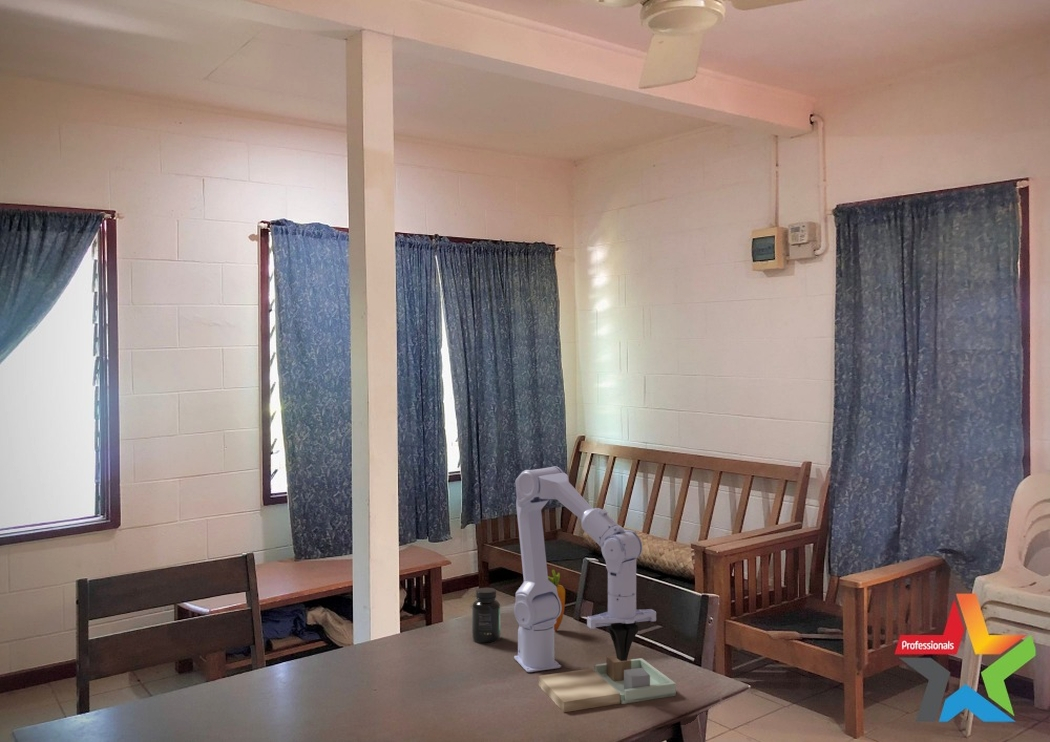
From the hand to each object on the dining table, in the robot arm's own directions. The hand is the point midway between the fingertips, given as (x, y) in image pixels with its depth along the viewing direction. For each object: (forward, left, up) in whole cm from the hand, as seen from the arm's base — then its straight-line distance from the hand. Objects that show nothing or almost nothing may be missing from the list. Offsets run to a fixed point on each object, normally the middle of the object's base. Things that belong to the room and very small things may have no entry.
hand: (621, 659), depth 171 cm
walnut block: (-8, +1, -5) cm, 9 cm away
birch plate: (-4, -8, -8) cm, 12 cm away
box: (-4, +4, -8) cm, 9 cm away
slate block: (0, +1, -5) cm, 5 cm away
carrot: (-42, +2, -8) cm, 43 cm away
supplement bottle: (-42, -16, -8) cm, 46 cm away
